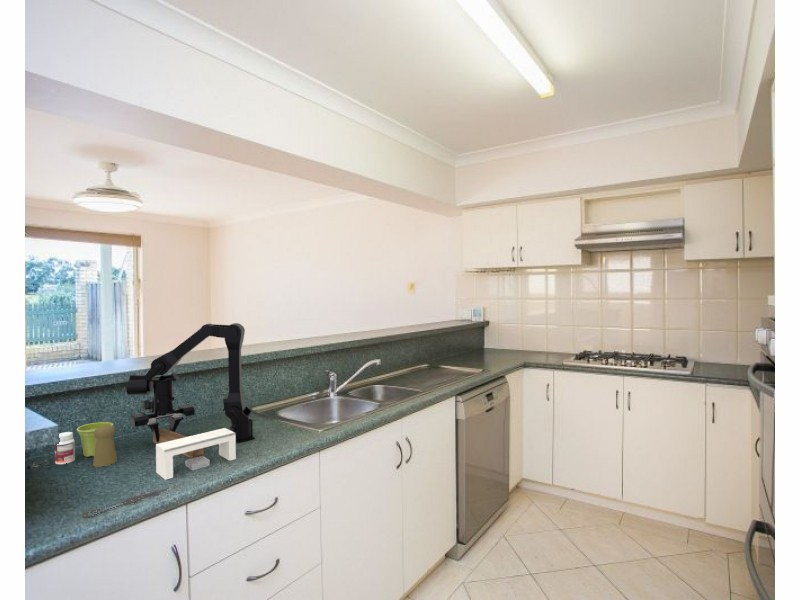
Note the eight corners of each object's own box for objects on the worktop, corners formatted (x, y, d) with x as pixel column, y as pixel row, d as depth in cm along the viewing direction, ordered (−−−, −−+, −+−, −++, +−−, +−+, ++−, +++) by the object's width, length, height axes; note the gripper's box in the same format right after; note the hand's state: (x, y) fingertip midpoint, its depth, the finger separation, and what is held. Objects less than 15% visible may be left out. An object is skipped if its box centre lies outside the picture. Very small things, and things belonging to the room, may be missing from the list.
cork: (113, 457, 136) (112, 422, 136) (120, 462, 132) (119, 425, 132) (90, 463, 131) (89, 426, 131) (97, 468, 128) (96, 431, 127)
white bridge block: (225, 453, 139) (224, 427, 139) (235, 458, 135) (235, 432, 134) (156, 472, 125) (155, 444, 125) (165, 479, 120) (164, 450, 120)
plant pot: (104, 446, 146) (103, 420, 146) (119, 451, 141) (119, 424, 141) (71, 455, 138) (71, 427, 138) (86, 461, 133) (85, 433, 133)
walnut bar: (163, 439, 152) (163, 428, 152) (203, 454, 138) (203, 442, 138) (153, 442, 149) (152, 431, 149) (192, 458, 135) (192, 445, 135)
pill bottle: (58, 459, 134) (57, 432, 134) (77, 457, 136) (76, 430, 136) (52, 465, 130) (51, 437, 130) (71, 463, 131) (71, 435, 131)
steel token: (202, 462, 133) (202, 455, 133) (209, 466, 130) (209, 460, 130) (185, 466, 130) (185, 460, 130) (192, 471, 126) (192, 464, 126)
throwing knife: (80, 514, 102) (80, 512, 102) (171, 486, 117) (171, 483, 117) (85, 521, 99) (85, 519, 99) (178, 491, 114) (178, 488, 114)
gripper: (182, 385, 160) (183, 428, 161) (124, 395, 147) (125, 441, 147) (195, 390, 153) (196, 435, 153) (134, 400, 139) (135, 450, 139)
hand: (164, 440), depth 148 cm, fingers closed on walnut bar, 4 cm apart
